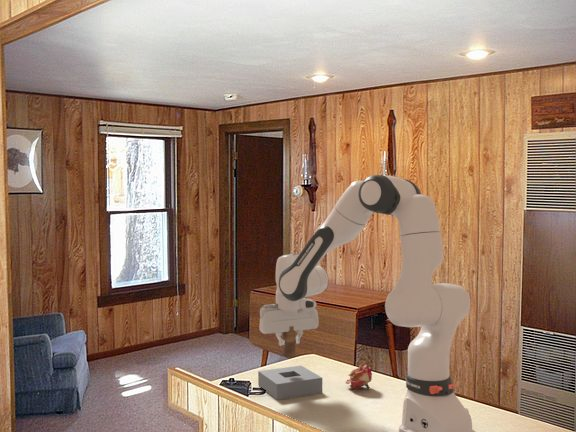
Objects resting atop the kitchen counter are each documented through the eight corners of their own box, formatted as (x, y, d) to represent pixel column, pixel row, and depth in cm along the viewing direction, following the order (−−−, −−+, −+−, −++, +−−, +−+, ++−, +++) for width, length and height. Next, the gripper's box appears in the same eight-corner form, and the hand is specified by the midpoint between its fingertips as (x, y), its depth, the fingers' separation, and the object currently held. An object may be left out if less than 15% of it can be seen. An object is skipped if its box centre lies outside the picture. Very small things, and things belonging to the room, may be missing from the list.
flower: (379, 380, 199) (365, 359, 201) (380, 382, 190) (366, 361, 192) (355, 396, 199) (341, 376, 201) (355, 399, 190) (341, 378, 192)
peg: (297, 356, 194) (297, 325, 194) (286, 357, 193) (286, 326, 193) (292, 353, 198) (292, 323, 198) (281, 354, 197) (281, 324, 196)
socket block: (322, 393, 192) (322, 377, 191) (276, 400, 185) (276, 384, 185) (301, 379, 206) (301, 365, 206) (258, 385, 200) (258, 371, 200)
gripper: (263, 306, 188) (263, 350, 188) (320, 302, 196) (320, 343, 197) (256, 303, 194) (256, 345, 194) (312, 299, 202) (312, 339, 202)
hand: (289, 344), depth 195 cm, fingers closed on peg, 4 cm apart
